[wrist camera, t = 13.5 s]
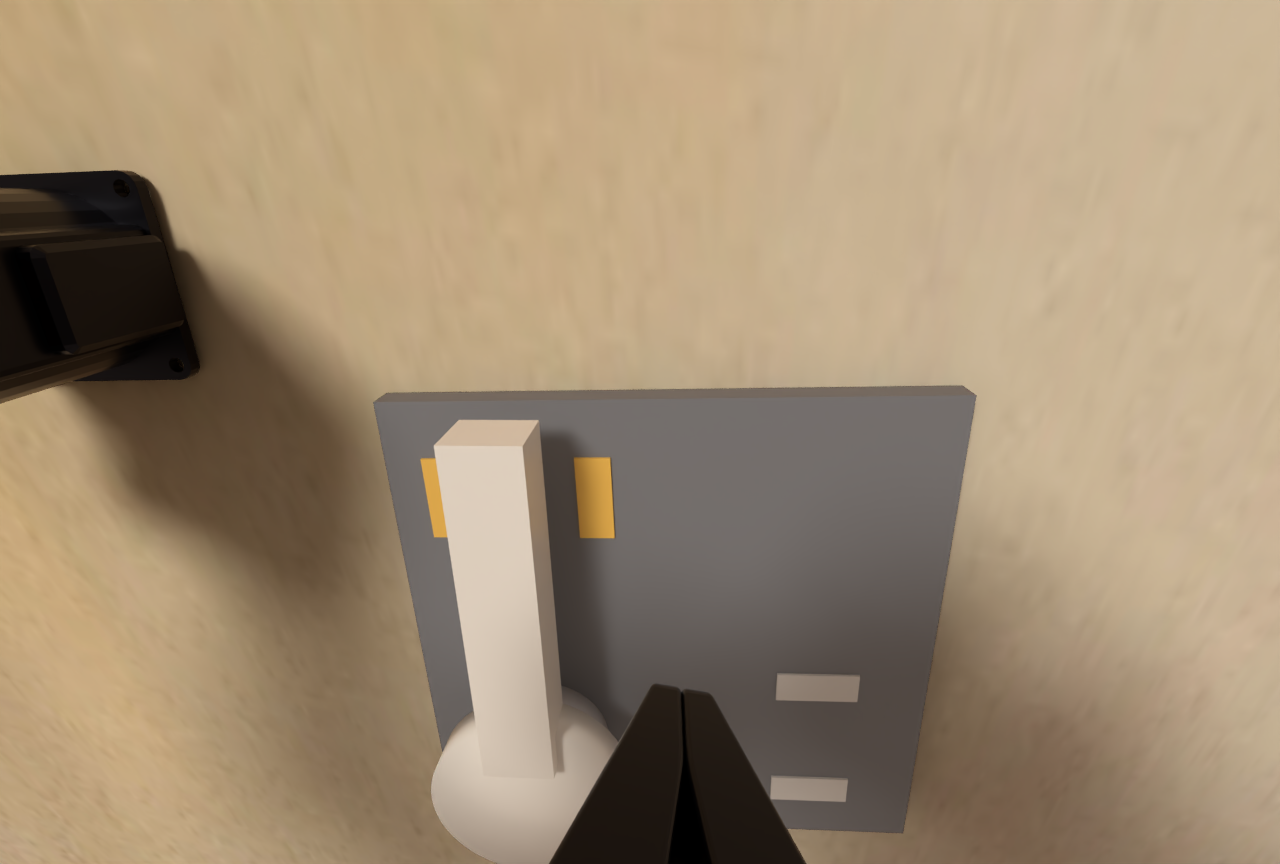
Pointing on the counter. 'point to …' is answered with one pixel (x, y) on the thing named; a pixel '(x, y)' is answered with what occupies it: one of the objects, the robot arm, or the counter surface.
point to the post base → (724, 566)
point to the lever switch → (508, 655)
